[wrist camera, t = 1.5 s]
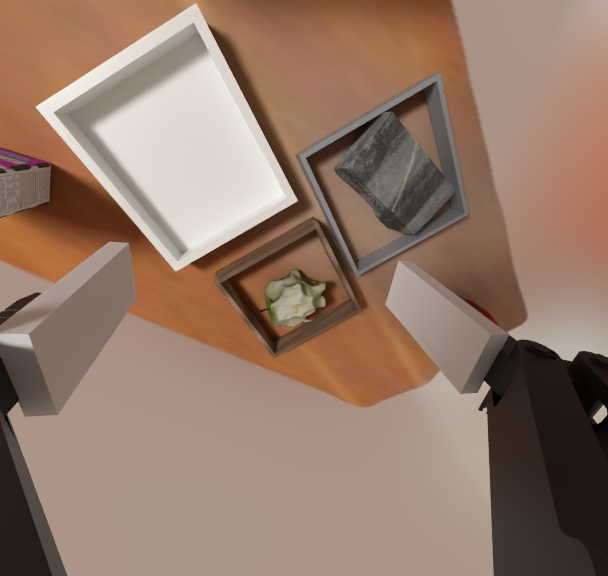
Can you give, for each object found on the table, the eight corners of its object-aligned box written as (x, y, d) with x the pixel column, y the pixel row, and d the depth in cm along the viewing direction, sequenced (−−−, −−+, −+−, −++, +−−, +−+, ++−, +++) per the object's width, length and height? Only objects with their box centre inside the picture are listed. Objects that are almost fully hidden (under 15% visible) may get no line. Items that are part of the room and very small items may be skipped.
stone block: (394, 233, 45) (410, 244, 40) (327, 171, 39) (338, 175, 34) (436, 186, 42) (459, 192, 38) (373, 113, 36) (391, 109, 32)
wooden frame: (216, 271, 42) (213, 282, 39) (312, 216, 41) (318, 222, 38) (272, 344, 49) (273, 358, 46) (354, 300, 48) (361, 310, 45)
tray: (59, 111, 31) (35, 106, 27) (201, 20, 29) (196, 3, 26) (181, 260, 40) (175, 271, 36) (293, 195, 39) (297, 201, 35)
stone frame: (295, 154, 37) (298, 155, 34) (425, 77, 35) (440, 72, 33) (349, 268, 45) (356, 276, 43) (455, 210, 44) (469, 214, 42)
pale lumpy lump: (255, 304, 47) (249, 324, 39) (282, 255, 45) (281, 266, 37) (304, 328, 49) (307, 351, 41) (332, 282, 46) (341, 297, 39)
